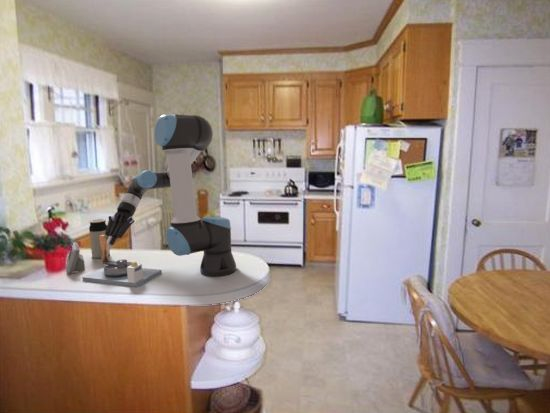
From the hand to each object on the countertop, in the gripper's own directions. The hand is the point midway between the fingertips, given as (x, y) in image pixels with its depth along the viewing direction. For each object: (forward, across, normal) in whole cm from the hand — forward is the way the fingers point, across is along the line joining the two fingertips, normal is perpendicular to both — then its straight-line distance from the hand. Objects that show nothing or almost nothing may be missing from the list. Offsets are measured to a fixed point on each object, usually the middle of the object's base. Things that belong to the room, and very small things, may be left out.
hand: (105, 250), depth 163 cm
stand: (+9, -12, -3) cm, 16 cm away
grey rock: (+8, +16, -5) cm, 19 cm away
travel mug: (-5, +19, -19) cm, 27 cm away
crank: (+8, -9, -2) cm, 12 cm away
